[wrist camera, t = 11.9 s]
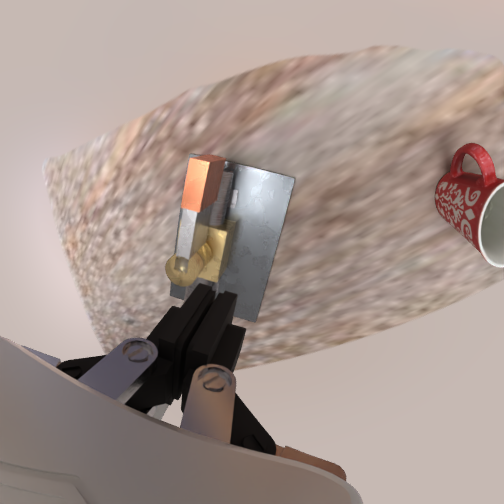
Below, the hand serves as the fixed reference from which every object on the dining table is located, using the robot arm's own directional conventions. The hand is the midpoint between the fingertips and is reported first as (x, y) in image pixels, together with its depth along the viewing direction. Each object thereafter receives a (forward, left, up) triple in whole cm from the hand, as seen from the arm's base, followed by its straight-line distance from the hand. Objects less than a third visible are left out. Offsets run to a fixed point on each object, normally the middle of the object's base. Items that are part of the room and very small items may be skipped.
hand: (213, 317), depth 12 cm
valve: (-8, +6, -27) cm, 29 cm away
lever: (-3, +8, -22) cm, 24 cm away
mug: (+9, -22, -28) cm, 37 cm away
